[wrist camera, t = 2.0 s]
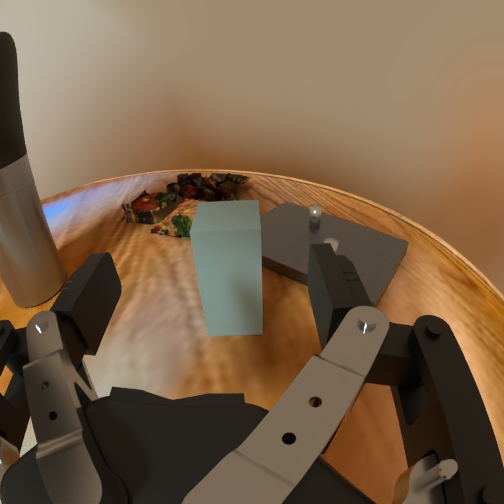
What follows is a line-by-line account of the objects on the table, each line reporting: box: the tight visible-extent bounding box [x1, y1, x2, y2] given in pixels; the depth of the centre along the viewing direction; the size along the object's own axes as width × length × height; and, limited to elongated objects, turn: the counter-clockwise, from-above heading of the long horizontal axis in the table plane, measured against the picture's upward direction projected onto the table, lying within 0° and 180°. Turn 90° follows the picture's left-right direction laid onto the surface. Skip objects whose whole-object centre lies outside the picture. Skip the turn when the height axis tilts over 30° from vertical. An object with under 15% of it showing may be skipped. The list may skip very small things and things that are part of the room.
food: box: [122, 173, 250, 238], centre depth 51 cm, size 22×19×4 cm
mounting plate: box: [260, 202, 409, 308], centre depth 37 cm, size 20×14×4 cm
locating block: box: [190, 200, 263, 336], centre depth 26 cm, size 5×5×11 cm
